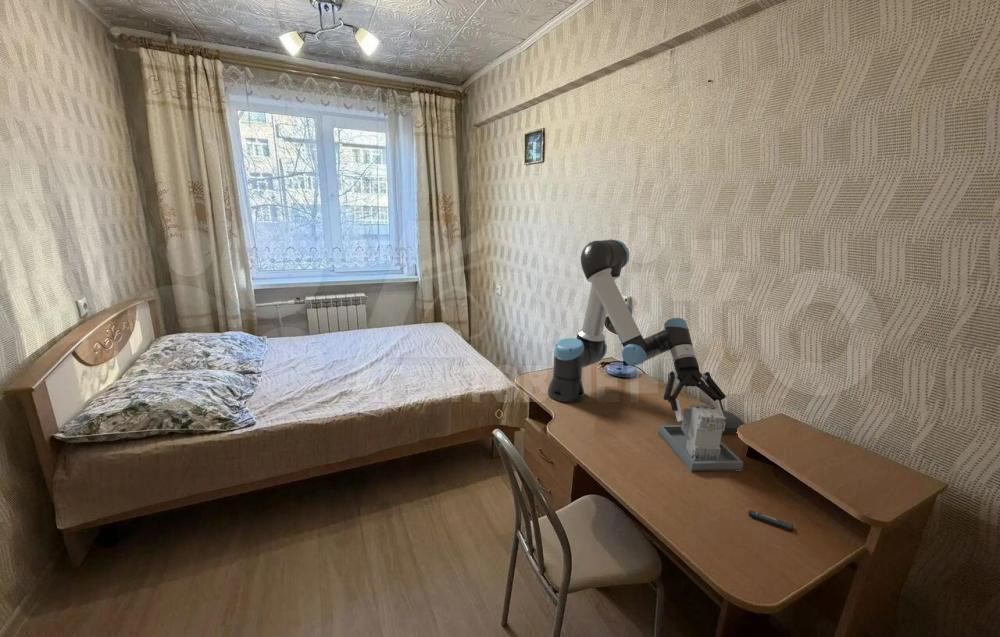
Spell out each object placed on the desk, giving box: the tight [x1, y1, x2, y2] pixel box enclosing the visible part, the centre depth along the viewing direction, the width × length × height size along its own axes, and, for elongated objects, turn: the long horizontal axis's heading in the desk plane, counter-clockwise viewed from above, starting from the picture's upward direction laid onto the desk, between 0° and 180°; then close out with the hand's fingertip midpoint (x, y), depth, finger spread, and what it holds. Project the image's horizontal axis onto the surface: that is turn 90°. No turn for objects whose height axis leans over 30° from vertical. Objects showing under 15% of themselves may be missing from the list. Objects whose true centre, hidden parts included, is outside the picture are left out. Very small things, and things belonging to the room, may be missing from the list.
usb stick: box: [747, 509, 794, 533], centre depth 103 cm, size 10×3×2 cm, turn 58°
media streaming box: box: [722, 409, 745, 435], centre depth 150 cm, size 15×15×3 cm
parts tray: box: [658, 424, 744, 473], centre depth 133 cm, size 22×16×3 cm
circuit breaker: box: [680, 404, 726, 461], centre depth 131 cm, size 8×14×15 cm, turn 176°
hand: (700, 421), depth 130 cm, fingers open, 13 cm apart
